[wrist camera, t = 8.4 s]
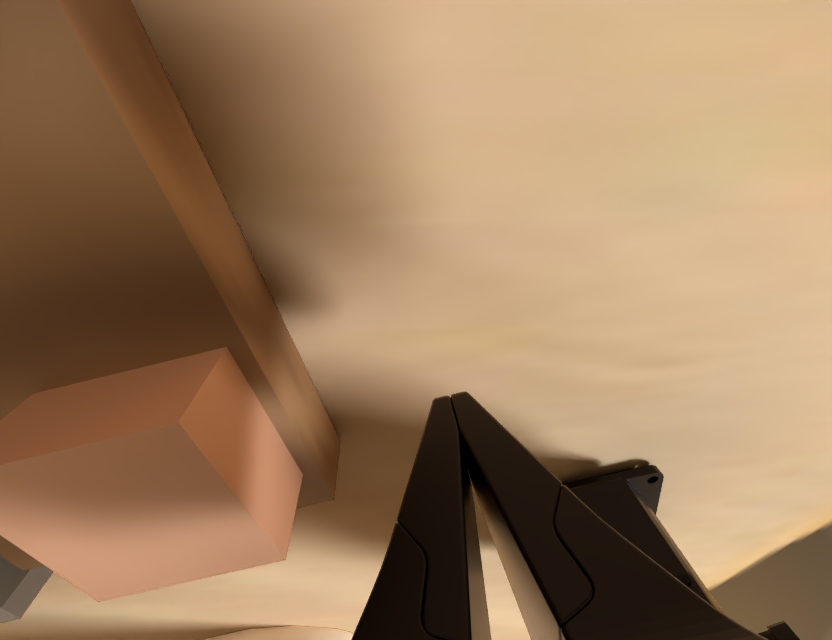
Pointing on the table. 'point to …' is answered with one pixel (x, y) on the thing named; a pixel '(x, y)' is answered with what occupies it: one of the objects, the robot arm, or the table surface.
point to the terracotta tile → (147, 477)
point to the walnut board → (125, 232)
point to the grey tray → (19, 588)
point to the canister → (287, 634)
